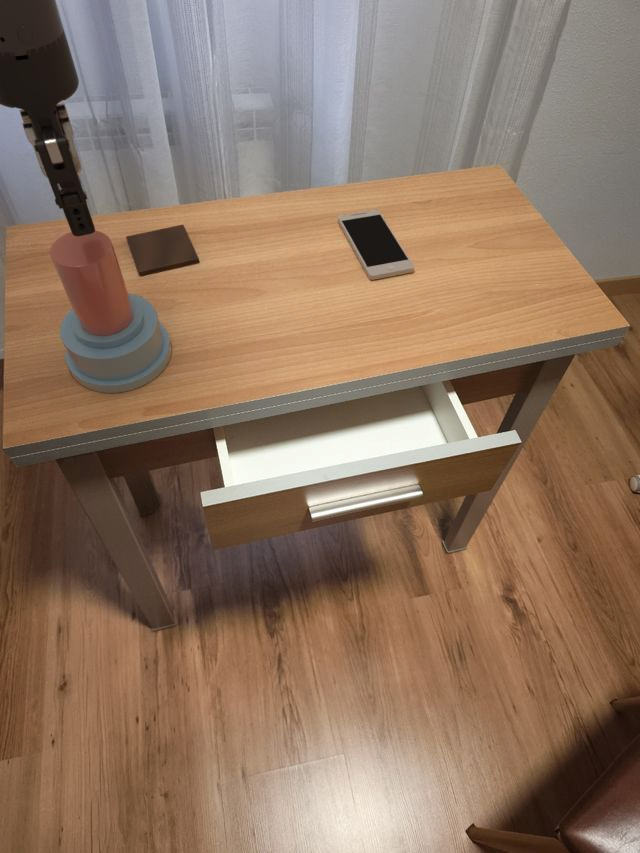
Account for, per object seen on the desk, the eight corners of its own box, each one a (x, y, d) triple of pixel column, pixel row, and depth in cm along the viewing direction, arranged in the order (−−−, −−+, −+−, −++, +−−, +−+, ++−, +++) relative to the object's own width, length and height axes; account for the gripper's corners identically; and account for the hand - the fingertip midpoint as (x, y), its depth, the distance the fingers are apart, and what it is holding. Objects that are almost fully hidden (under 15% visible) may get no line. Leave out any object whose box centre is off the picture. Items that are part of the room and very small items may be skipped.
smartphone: (369, 280, 84) (370, 275, 83) (336, 220, 92) (337, 215, 91) (414, 272, 85) (415, 267, 84) (377, 213, 94) (378, 208, 93)
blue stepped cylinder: (77, 405, 69) (58, 369, 63) (62, 333, 76) (44, 295, 70) (182, 376, 72) (173, 339, 67) (158, 310, 79) (148, 271, 74)
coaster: (139, 276, 83) (138, 272, 82) (127, 240, 88) (125, 236, 87) (199, 262, 85) (198, 258, 84) (184, 228, 90) (183, 224, 89)
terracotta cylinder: (84, 341, 66) (53, 272, 58) (75, 306, 69) (45, 236, 61) (139, 327, 68) (116, 258, 59) (128, 294, 71) (105, 224, 63)
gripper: (-41, 1, 48) (32, 180, 61) (-33, 72, 41) (48, 258, 54) (50, -8, 50) (102, 167, 63) (75, 58, 43) (128, 241, 56)
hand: (77, 209), depth 59 cm, fingers open, 8 cm apart
